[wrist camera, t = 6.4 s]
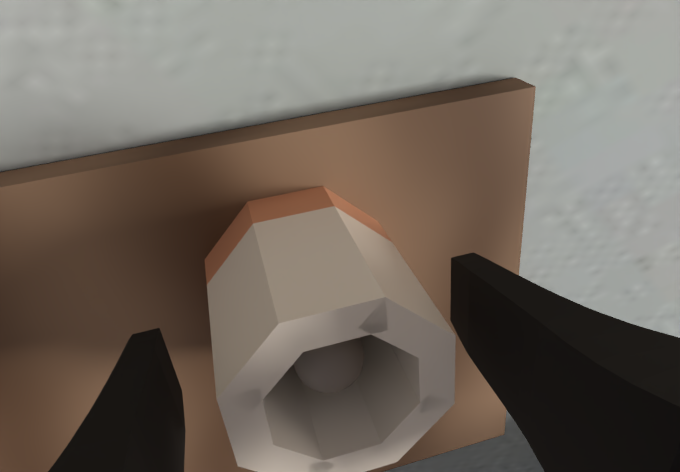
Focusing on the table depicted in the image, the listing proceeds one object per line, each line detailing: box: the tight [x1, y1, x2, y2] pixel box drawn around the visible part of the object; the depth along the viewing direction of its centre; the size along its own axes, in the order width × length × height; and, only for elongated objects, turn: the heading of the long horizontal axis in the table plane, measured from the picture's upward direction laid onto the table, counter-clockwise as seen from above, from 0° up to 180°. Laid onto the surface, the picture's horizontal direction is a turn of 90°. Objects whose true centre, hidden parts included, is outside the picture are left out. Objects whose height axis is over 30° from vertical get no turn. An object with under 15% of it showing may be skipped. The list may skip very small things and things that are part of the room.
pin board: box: [0, 78, 536, 472], centre depth 15 cm, size 20×14×5 cm
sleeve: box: [205, 186, 456, 472], centre depth 13 cm, size 5×5×5 cm
